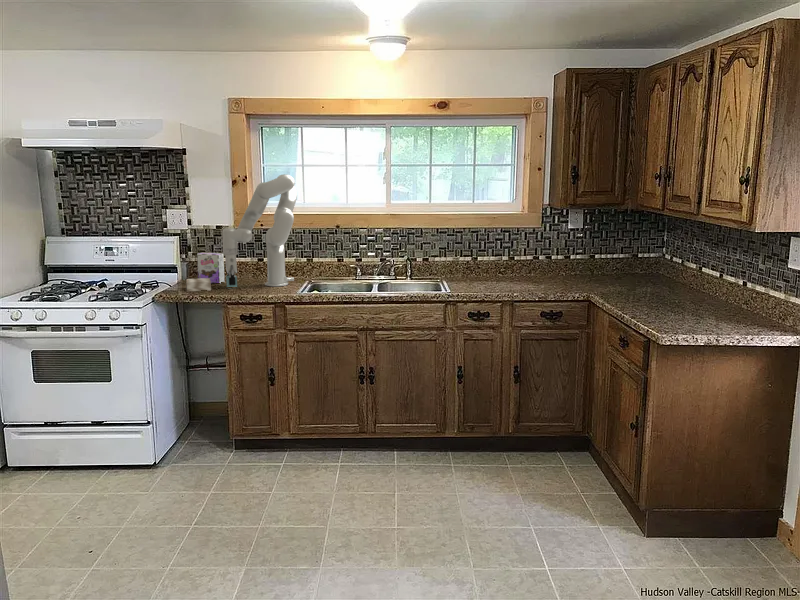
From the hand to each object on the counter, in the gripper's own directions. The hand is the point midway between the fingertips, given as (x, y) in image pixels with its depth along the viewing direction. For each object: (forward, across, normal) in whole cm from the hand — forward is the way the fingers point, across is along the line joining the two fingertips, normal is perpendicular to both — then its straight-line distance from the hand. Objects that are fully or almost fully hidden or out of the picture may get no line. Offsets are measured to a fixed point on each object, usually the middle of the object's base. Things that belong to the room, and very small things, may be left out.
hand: (231, 283), depth 350 cm
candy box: (+2, +20, +9) cm, 22 cm away
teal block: (+2, 0, 0) cm, 2 cm away
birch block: (+2, 0, +17) cm, 17 cm away
